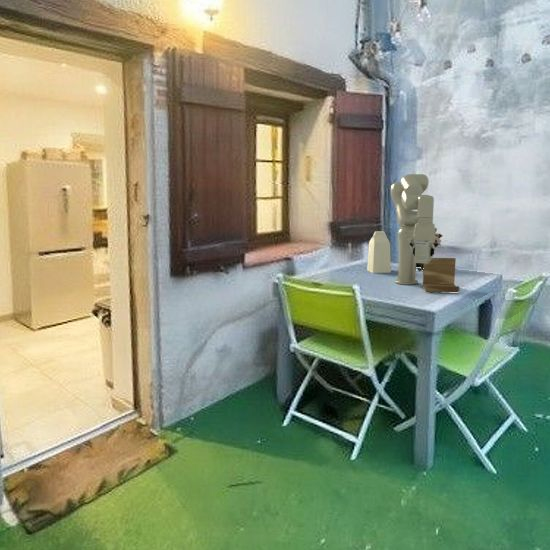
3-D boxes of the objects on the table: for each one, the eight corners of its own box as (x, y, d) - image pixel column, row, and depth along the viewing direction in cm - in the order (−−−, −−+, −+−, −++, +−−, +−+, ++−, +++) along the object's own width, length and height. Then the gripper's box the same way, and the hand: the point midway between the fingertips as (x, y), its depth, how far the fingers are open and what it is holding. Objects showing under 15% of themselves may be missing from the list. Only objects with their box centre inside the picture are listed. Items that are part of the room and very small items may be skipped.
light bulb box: (417, 259, 241) (418, 238, 239) (431, 260, 238) (432, 239, 236) (414, 262, 232) (415, 241, 230) (428, 263, 229) (429, 241, 227)
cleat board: (422, 286, 256) (423, 257, 253) (453, 287, 252) (455, 257, 250) (425, 292, 240) (427, 262, 237) (458, 293, 237) (460, 262, 234)
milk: (372, 273, 298) (373, 232, 293) (367, 270, 309) (367, 231, 305) (390, 272, 300) (392, 232, 295) (384, 269, 311) (385, 230, 306)
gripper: (406, 221, 229) (405, 256, 233) (444, 221, 225) (442, 257, 229) (406, 220, 236) (405, 254, 240) (442, 220, 232) (440, 255, 236)
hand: (423, 255), depth 234 cm, fingers closed on light bulb box, 7 cm apart
